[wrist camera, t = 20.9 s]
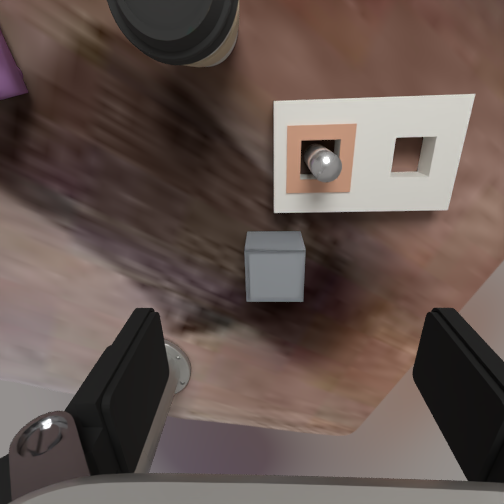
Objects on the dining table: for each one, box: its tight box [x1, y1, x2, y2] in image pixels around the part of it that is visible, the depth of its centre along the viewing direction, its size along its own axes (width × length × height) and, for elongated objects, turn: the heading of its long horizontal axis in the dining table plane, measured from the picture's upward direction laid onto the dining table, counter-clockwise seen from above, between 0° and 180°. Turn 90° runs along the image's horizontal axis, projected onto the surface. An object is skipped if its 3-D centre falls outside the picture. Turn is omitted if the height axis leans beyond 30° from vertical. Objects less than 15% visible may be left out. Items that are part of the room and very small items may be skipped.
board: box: [273, 94, 475, 213], centre depth 36 cm, size 12×20×3 cm, turn 92°
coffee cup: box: [107, 0, 239, 67], centre depth 26 cm, size 9×9×15 cm
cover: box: [244, 231, 306, 302], centre depth 40 cm, size 7×7×6 cm
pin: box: [304, 144, 342, 183], centre depth 34 cm, size 3×3×8 cm
